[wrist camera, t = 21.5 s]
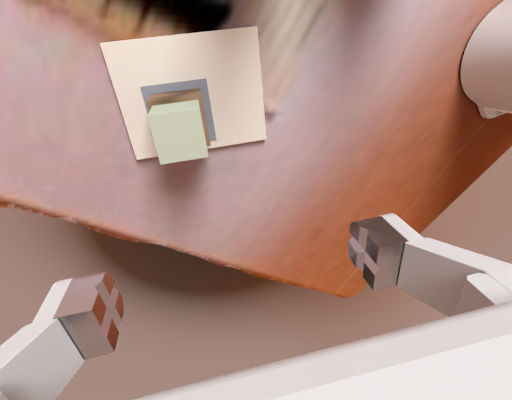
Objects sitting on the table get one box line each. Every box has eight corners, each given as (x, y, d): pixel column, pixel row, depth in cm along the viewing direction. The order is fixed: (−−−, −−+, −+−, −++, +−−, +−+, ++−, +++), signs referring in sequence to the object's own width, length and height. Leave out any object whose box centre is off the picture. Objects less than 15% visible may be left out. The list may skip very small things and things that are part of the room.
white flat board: (256, 26, 36) (257, 25, 35) (265, 137, 43) (266, 139, 42) (101, 42, 34) (99, 43, 33) (137, 157, 41) (136, 160, 40)
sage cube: (198, 99, 33) (199, 108, 29) (206, 142, 36) (208, 157, 31) (152, 105, 33) (147, 116, 28) (163, 149, 35) (160, 164, 31)
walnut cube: (199, 87, 37) (201, 94, 33) (208, 134, 40) (210, 145, 36) (151, 94, 37) (146, 101, 32) (163, 141, 40) (160, 154, 35)
